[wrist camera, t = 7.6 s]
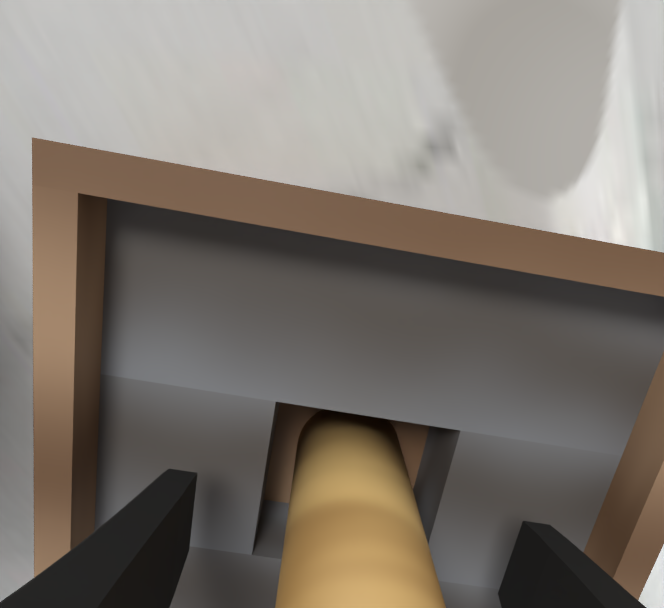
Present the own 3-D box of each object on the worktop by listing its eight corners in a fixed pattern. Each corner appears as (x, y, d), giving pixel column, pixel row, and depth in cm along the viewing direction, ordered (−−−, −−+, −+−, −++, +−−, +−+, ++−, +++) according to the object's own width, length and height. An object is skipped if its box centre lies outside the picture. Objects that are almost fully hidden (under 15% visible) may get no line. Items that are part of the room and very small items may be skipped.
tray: (499, 625, 15) (558, 773, 11) (114, 574, 14) (34, 712, 10) (634, 249, 12) (786, 274, 8) (137, 159, 11) (31, 137, 7)
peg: (390, 497, 12) (488, 988, 5) (291, 486, 12) (227, 971, 5) (407, 408, 12) (556, 819, 4) (303, 397, 12) (247, 793, 4)
